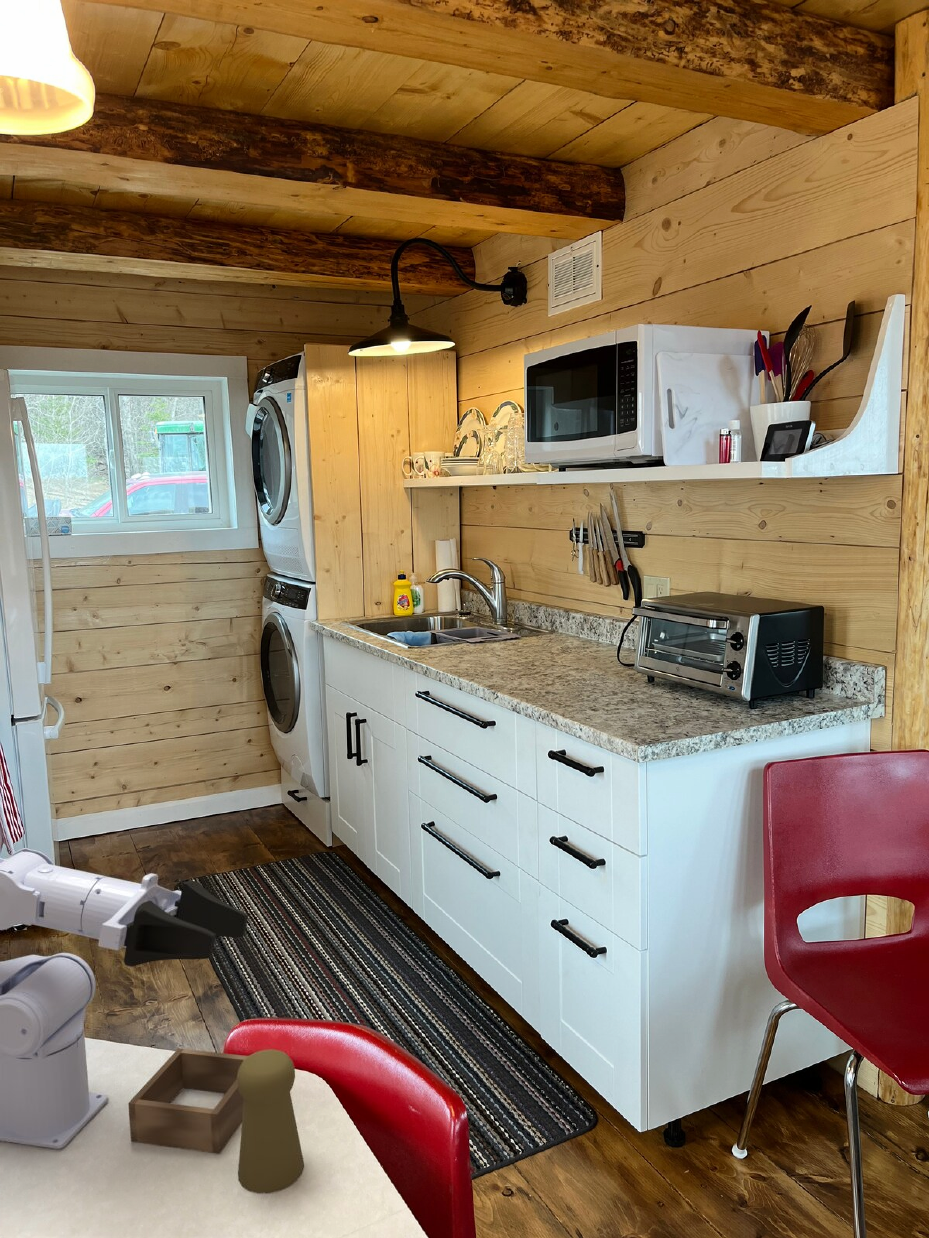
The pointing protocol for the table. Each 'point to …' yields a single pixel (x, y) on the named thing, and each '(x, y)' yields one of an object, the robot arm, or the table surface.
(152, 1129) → the walnut stand
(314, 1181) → the table surface
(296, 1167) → the olive game pawn
